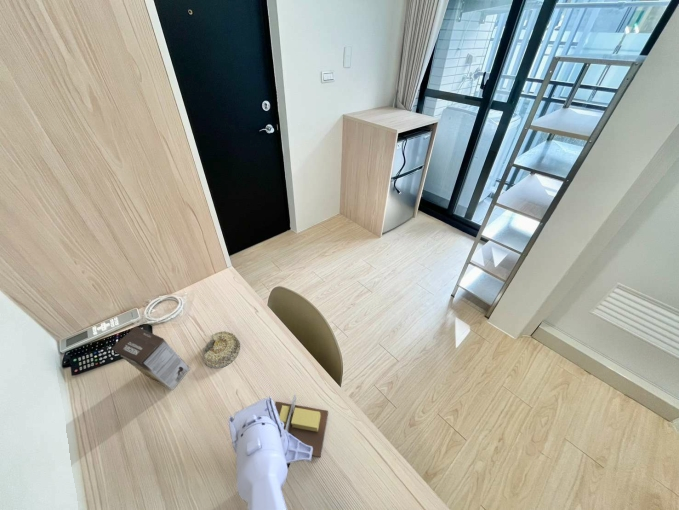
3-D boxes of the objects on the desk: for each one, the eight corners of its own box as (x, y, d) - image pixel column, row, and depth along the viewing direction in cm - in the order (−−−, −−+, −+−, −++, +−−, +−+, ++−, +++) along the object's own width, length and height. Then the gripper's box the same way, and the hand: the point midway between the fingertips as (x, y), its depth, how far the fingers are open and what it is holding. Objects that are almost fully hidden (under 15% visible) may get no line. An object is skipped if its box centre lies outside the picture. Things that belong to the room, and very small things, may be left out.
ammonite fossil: (242, 333, 80) (239, 324, 76) (238, 367, 73) (234, 358, 69) (207, 336, 79) (202, 326, 75) (199, 370, 72) (193, 361, 68)
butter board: (320, 457, 58) (320, 456, 58) (263, 446, 60) (262, 445, 59) (328, 412, 65) (328, 410, 64) (276, 402, 66) (275, 401, 65)
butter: (317, 431, 61) (317, 428, 59) (292, 427, 62) (290, 423, 59) (320, 416, 63) (320, 411, 61) (296, 411, 64) (294, 407, 62)
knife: (280, 478, 54) (277, 476, 52) (271, 476, 54) (267, 474, 52) (300, 399, 65) (298, 394, 62) (292, 397, 65) (290, 392, 62)
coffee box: (146, 377, 70) (109, 348, 59) (166, 355, 75) (135, 324, 64) (172, 391, 68) (139, 364, 57) (191, 368, 72) (164, 338, 61)
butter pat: (287, 426, 62) (285, 422, 59) (280, 424, 62) (277, 420, 60) (291, 410, 64) (289, 406, 62) (284, 409, 64) (282, 405, 62)
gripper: (314, 421, 48) (318, 439, 57) (237, 407, 50) (254, 426, 59) (304, 470, 43) (310, 481, 52) (219, 453, 45) (240, 466, 54)
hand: (280, 455), depth 55 cm, fingers closed on knife, 2 cm apart
